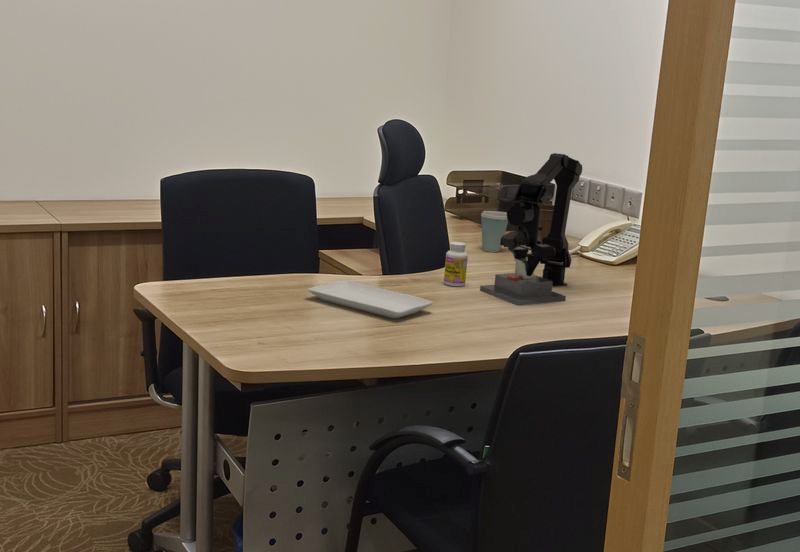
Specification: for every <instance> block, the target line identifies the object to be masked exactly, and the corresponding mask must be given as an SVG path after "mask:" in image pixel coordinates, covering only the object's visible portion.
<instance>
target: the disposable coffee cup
mask: <svg viewBox="0 0 800 552" xmlns="http://www.w3.org/2000/svg"><path fill="white" fill-rule="evenodd" d="M480 216H481V217H480V218H481V246H482V247H481V248H482V250H483V251H485V252H490V253H499V252H500V251H501V250H502V246H503V245H500V242H501V238H502V236H503V235H505V234H506V231H507V227H508V223H509V221H508V219H507V212H505V211H496V210H495V211H494V210H483V211H482V212H481V214H480Z"/></svg>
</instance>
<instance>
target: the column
mask: <svg viewBox="0 0 800 552" xmlns="http://www.w3.org/2000/svg"><path fill="white" fill-rule="evenodd" d="M514 262H515V266H514V267H515V268H514V273H515V276H516V277H519V279H521V280H530V279H534V275H535V271H534V272H533V273H532V275H531V276H527V266H528V258H527V257H526V258H517V259H515V258H514Z"/></svg>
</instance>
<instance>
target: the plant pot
mask: <svg viewBox="0 0 800 552" xmlns="http://www.w3.org/2000/svg"><path fill="white" fill-rule="evenodd" d="M553 208H554V204H544V203H543V206H542V207H541V215H540V224H539V226H540V227H542V230H539V234H538V240H540V241H541V244H542V239H543V238H544V237H546V236H547V235H548V234H549V232H550V227H551V221H552V215H553ZM541 244H537V245H541ZM529 247H531V246H529Z"/></svg>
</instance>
